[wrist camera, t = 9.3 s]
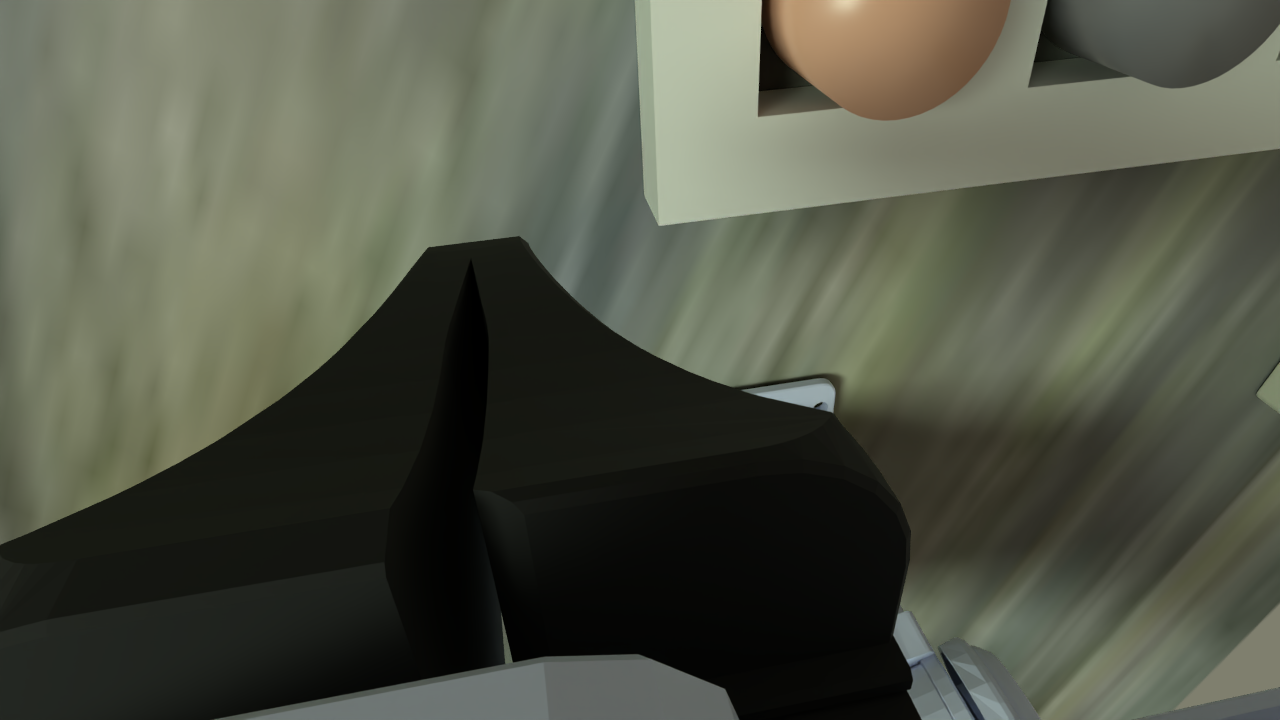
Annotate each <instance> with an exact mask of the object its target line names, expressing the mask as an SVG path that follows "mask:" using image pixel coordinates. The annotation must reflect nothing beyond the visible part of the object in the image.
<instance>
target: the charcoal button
mask: <svg viewBox="0 0 1280 720" xmlns="http://www.w3.org/2000/svg"><path fill="white" fill-rule="evenodd" d="M1279 24H1280V0H1048V1H1047V5H1046V9H1045V14H1044V18H1043V23H1042V27H1041V29H1042V31H1043V33H1044V34H1045V36H1046V37H1047V38H1048V39H1049V40H1050V41H1051V42H1052V43H1053V44H1054V45H1056V46H1057V47H1058V48H1060V49H1062V50H1064V51H1066V52H1069V53H1071V54H1074V55H1076V56H1079V57H1082V58H1084V59H1087V60H1089V61H1092V62H1095V63H1097V64H1100V65H1103V66H1105V67H1108V68H1110V69H1113V70H1116V71H1118V72H1121V73H1123V74H1126V75H1129V76H1131V77H1134V78H1136V79H1139V80H1142V81H1144V82H1147V83H1149V84H1152V85H1155V86H1159V87H1163V88H1171V89H1174V88H1186V87H1192V86H1196V85H1199V84H1202V83H1205V82H1208V81H1210V80H1212V79H1215V78H1217V77H1219V76H1221V75H1223V74H1224V73H1226V72H1228V71H1230V70H1231V69H1233V68H1234V67H1235V66H1237V65H1238V64H1240V63H1241V62H1243V61H1244V60H1245V59H1246V58H1248V57H1249V56H1250V55H1251V54H1252V53H1254V52H1255V51H1256V50H1257V49H1258V48H1259V47H1260V46H1261V45H1262V44H1263V43H1264V42H1265V41H1266V40H1267V39H1268V38H1269V36H1270V35H1271V34H1272V33H1273V32H1274V31H1275V30H1276V28H1277V27H1278V26H1279Z"/></svg>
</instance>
